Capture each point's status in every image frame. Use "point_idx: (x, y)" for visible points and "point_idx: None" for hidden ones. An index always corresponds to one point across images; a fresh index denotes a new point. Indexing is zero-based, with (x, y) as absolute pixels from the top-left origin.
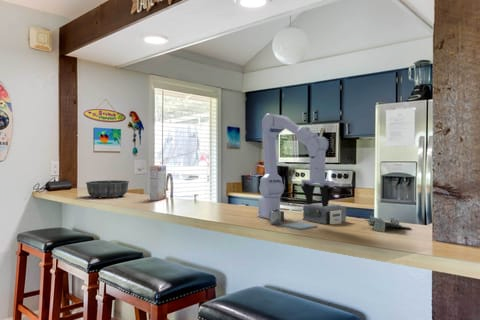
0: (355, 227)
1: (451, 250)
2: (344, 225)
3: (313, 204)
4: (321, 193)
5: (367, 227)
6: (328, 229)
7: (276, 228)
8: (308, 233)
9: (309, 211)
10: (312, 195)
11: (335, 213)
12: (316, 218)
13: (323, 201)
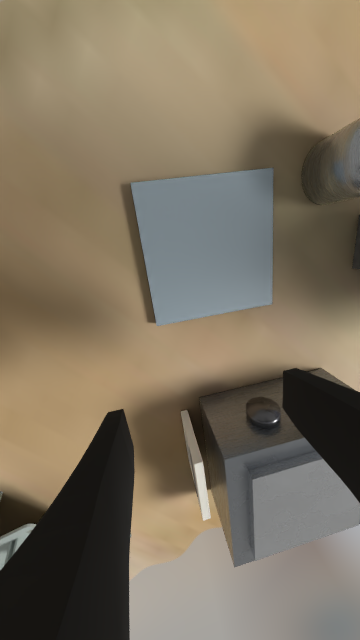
0: None
1: None
2: (145, 449)
3: None
4: (76, 551)
5: None
6: (87, 340)
7: (227, 70)
8: (10, 157)
9: None
10: (346, 479)
11: (194, 477)
12: (258, 396)
13: (89, 445)
